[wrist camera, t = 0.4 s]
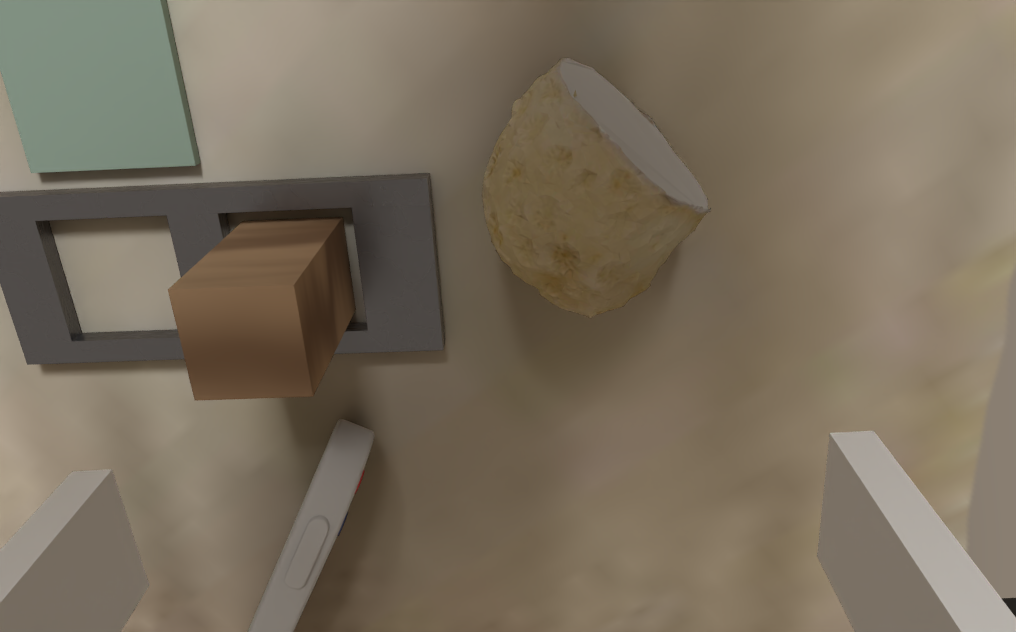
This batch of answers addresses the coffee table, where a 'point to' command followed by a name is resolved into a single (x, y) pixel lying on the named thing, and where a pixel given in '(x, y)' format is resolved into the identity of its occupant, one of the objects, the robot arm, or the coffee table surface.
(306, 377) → the walnut block
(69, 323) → the grey slotted board
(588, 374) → the coffee table surface
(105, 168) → the felt pad
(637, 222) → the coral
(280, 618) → the game controller
